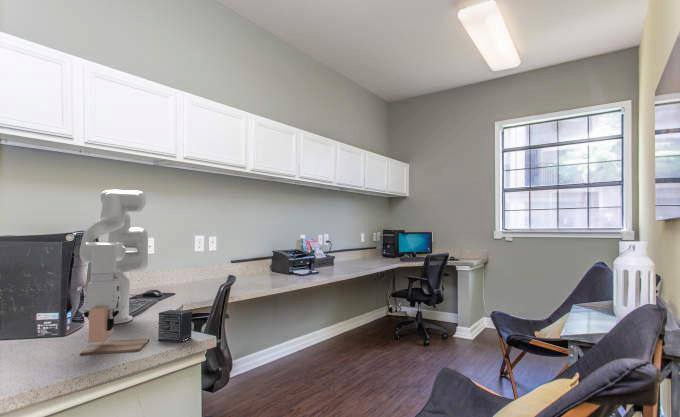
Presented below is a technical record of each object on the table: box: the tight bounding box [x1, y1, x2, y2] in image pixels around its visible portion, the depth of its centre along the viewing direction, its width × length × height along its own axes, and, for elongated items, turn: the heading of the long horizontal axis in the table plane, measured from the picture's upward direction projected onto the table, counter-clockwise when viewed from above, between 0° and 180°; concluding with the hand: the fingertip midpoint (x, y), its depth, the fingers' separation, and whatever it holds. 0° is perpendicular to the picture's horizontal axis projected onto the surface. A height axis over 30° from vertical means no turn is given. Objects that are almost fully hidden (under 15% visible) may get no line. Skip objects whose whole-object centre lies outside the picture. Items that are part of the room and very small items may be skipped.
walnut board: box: [79, 338, 150, 356], centre depth 129 cm, size 12×18×1 cm, turn 103°
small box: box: [157, 309, 193, 343], centre depth 139 cm, size 11×6×10 cm, turn 74°
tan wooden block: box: [87, 307, 115, 343], centre depth 128 cm, size 9×5×11 cm, turn 13°
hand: (101, 329), depth 128 cm, fingers closed on tan wooden block, 4 cm apart
